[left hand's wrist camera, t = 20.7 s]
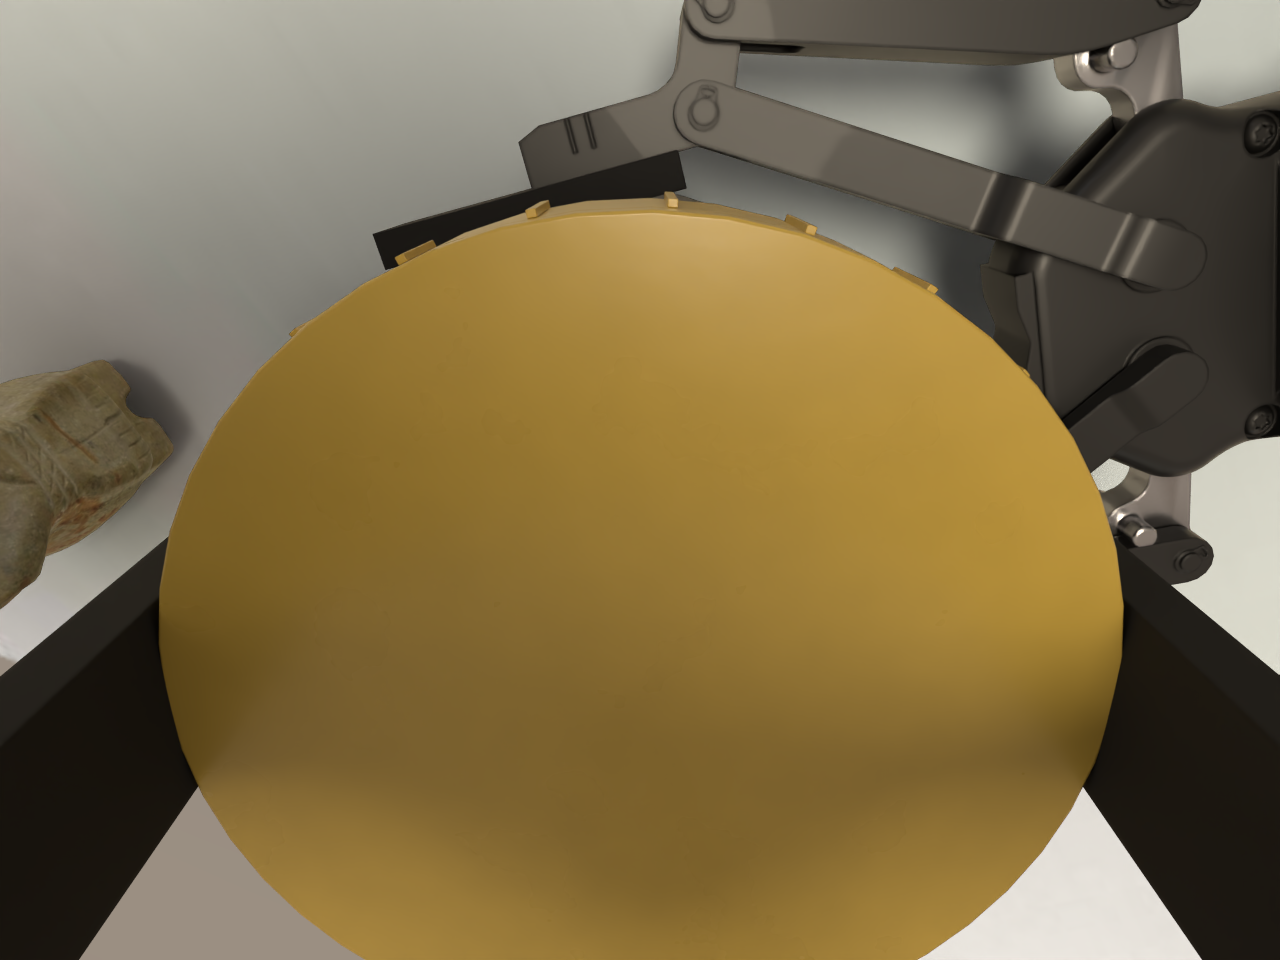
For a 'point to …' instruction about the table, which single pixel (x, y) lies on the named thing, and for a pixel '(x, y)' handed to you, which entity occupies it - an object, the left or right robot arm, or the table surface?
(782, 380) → the lid
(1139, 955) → the table surface
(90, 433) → the sculpture
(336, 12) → the table surface
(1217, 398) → the right robot arm
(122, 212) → the table surface
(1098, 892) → the table surface
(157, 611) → the left robot arm
